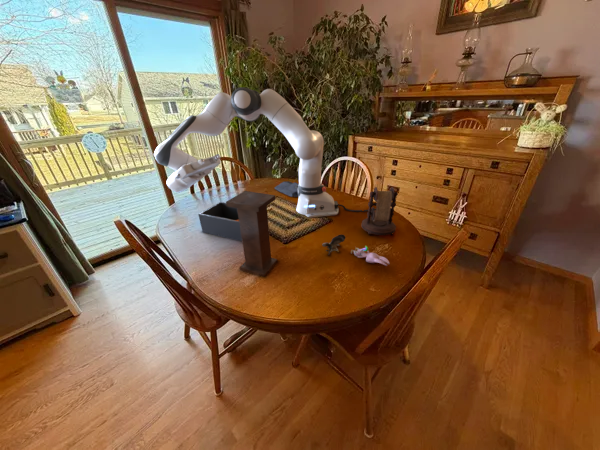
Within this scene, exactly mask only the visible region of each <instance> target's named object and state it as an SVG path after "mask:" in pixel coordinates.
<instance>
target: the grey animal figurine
mask: <svg viewBox="0 0 600 450" xmlns="http://www.w3.org/2000/svg"><path fill="white" fill-rule="evenodd" d="M346 238H347V237H346V235H345V234H343V233H342V234H338V235H336V236H334V237H333V238H332V239H331V241H330V242H323V243H322V244H321V246H322V247H324V248H327V249H326V250H325V252H328V254H327V255H328V256H330V255H331V254H332V253H333V252H334V251H336V252H337V253H339V252H340V251H339V249H338V247H340V244H341V243H344V242H345V240H346ZM337 246H338V247H337Z"/></svg>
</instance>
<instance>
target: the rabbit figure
mask: <svg viewBox="0 0 600 450" xmlns="http://www.w3.org/2000/svg"><path fill="white" fill-rule="evenodd" d="M350 254H354V256H355V257H357V258H359V259H360V258H364V259H365V262H366V263H369V264H375V263H377V264H378V263H379V264H381V265H384V266H385V267H388V265H390V261H389V260H388V258H387V257H385V256H381V255H379V254H378V253H376V252H370V248H369V247H368V245H364V247H362V248H359V247H355V248H354V249H350Z"/></svg>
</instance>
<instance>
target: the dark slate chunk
mask: <svg viewBox="0 0 600 450" xmlns="http://www.w3.org/2000/svg"><path fill="white" fill-rule="evenodd" d="M298 184H299V182H298V183H297V182H292V181H289V180H288V181H282V182H280V183H279V184H277V185H276V186H275V187H274V190H276V191H277V192H280V193H281V194H284V195H286V196H287V197H295V198H297V197H299V195H298Z"/></svg>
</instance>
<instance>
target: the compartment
mask: <svg viewBox="0 0 600 450" xmlns="http://www.w3.org/2000/svg"><path fill="white" fill-rule="evenodd" d="M197 215H198V219H199V224H200V227H201V231H202V233H206V234H208V235H209V234H210V235H214V236H217V237H221V238H225V239H226V238H227V239H230V240H235V241H239V242H242V237H241V230H240V224H239V221H234V220H238V219H239V217H238V210H237V208H234V207H228V206H227V205H226V202H225V201H224V202H223V201H219V202H217V203H215V204H214V205H212V206H211V207H208V208H207V209H205V210H203V211H201V212H198V214H197ZM220 217H221V218H220ZM224 218H226V219H224ZM229 219H231V220H229Z"/></svg>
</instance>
